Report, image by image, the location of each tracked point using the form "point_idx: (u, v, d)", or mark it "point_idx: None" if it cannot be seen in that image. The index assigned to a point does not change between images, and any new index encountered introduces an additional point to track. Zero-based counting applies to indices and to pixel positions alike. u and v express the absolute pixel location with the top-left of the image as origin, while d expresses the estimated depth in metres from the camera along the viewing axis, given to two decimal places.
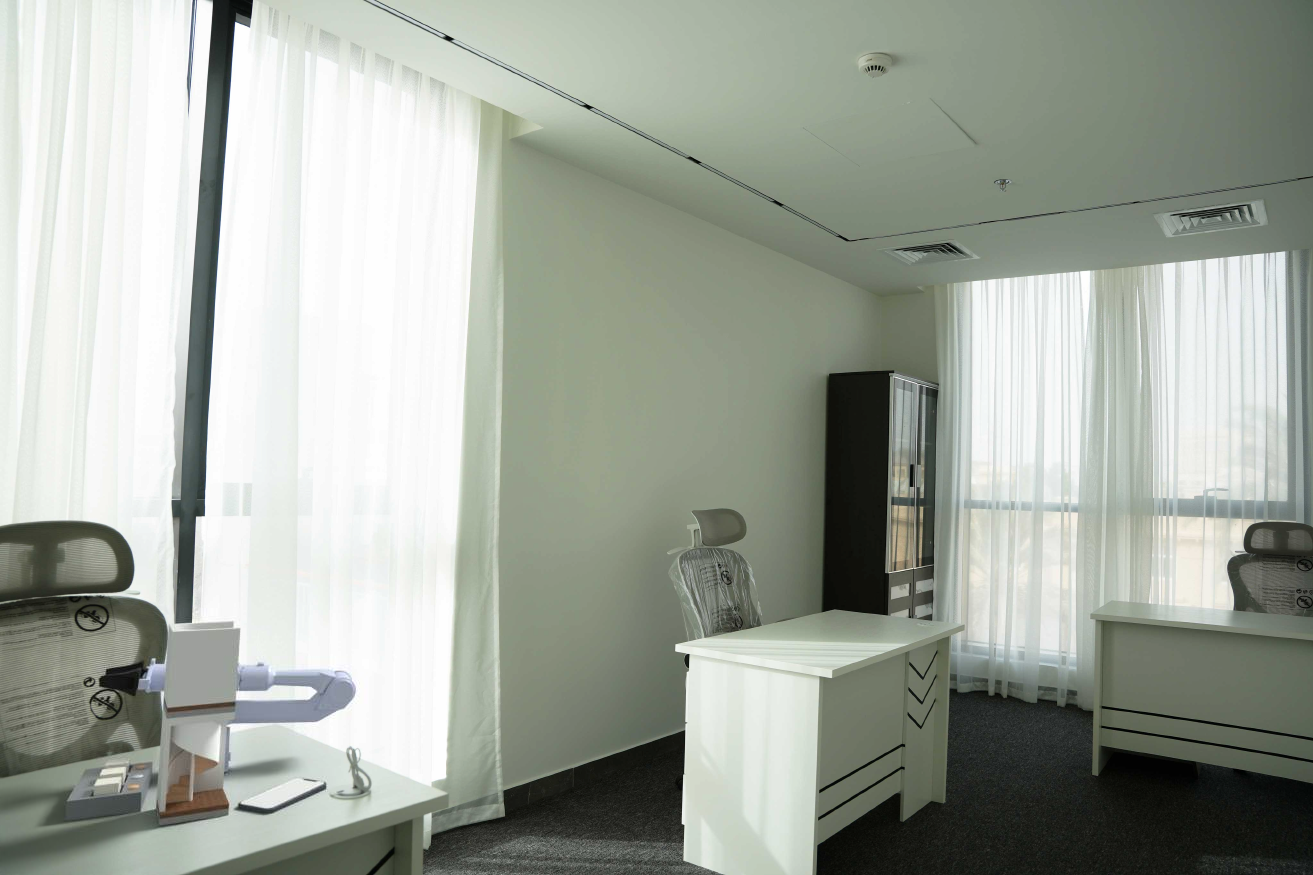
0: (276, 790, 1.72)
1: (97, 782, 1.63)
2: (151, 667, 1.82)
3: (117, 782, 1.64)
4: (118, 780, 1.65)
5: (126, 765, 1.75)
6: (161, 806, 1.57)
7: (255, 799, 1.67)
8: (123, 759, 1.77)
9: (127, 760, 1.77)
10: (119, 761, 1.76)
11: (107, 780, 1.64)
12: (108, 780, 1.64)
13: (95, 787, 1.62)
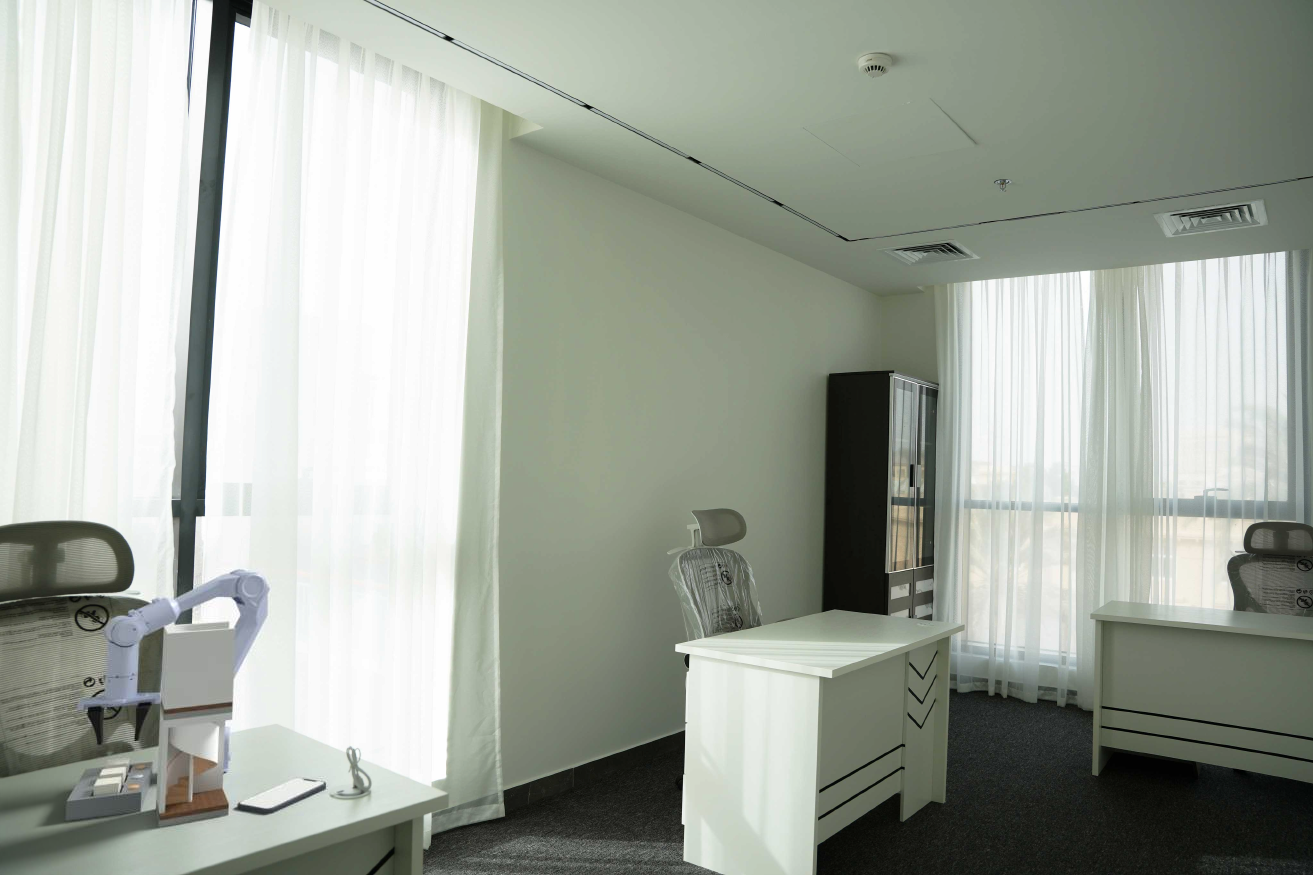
0: (276, 790, 1.72)
1: (97, 782, 1.63)
2: (130, 699, 1.75)
3: (117, 782, 1.64)
4: (118, 780, 1.65)
5: (126, 765, 1.75)
6: (160, 808, 1.57)
7: (255, 799, 1.67)
8: (123, 759, 1.77)
9: (127, 760, 1.77)
10: (119, 761, 1.76)
11: (107, 780, 1.64)
12: (108, 780, 1.64)
13: (95, 787, 1.62)
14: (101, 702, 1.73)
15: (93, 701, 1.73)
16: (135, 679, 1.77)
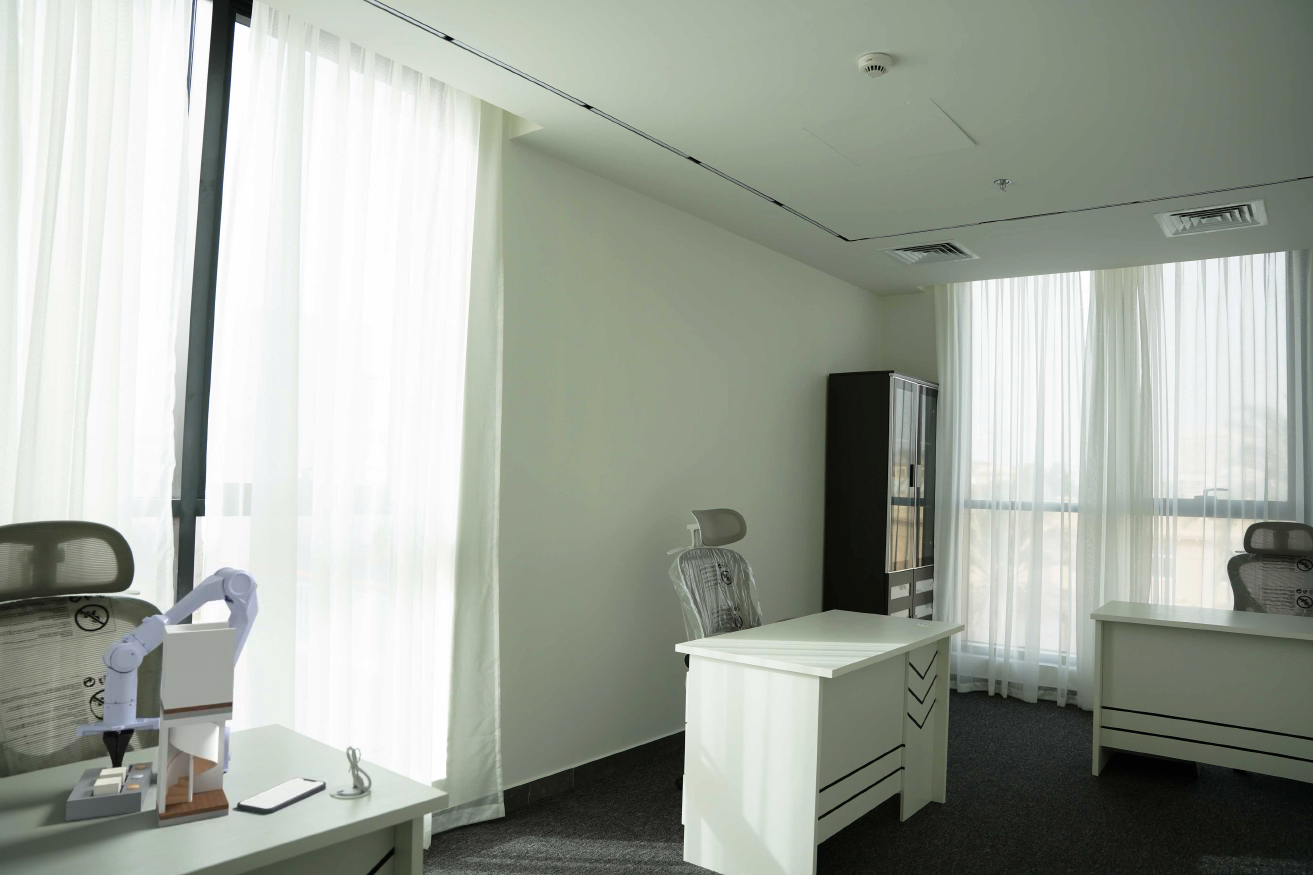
0: (276, 790, 1.72)
1: (97, 782, 1.63)
2: (128, 725, 1.75)
3: (117, 782, 1.64)
4: (118, 780, 1.65)
5: (126, 771, 1.75)
6: (160, 808, 1.57)
7: (254, 799, 1.67)
8: (123, 765, 1.77)
9: (127, 766, 1.76)
10: None
11: (107, 780, 1.64)
12: (108, 780, 1.64)
13: (95, 787, 1.62)
14: (100, 728, 1.73)
15: (92, 727, 1.73)
16: (134, 705, 1.77)
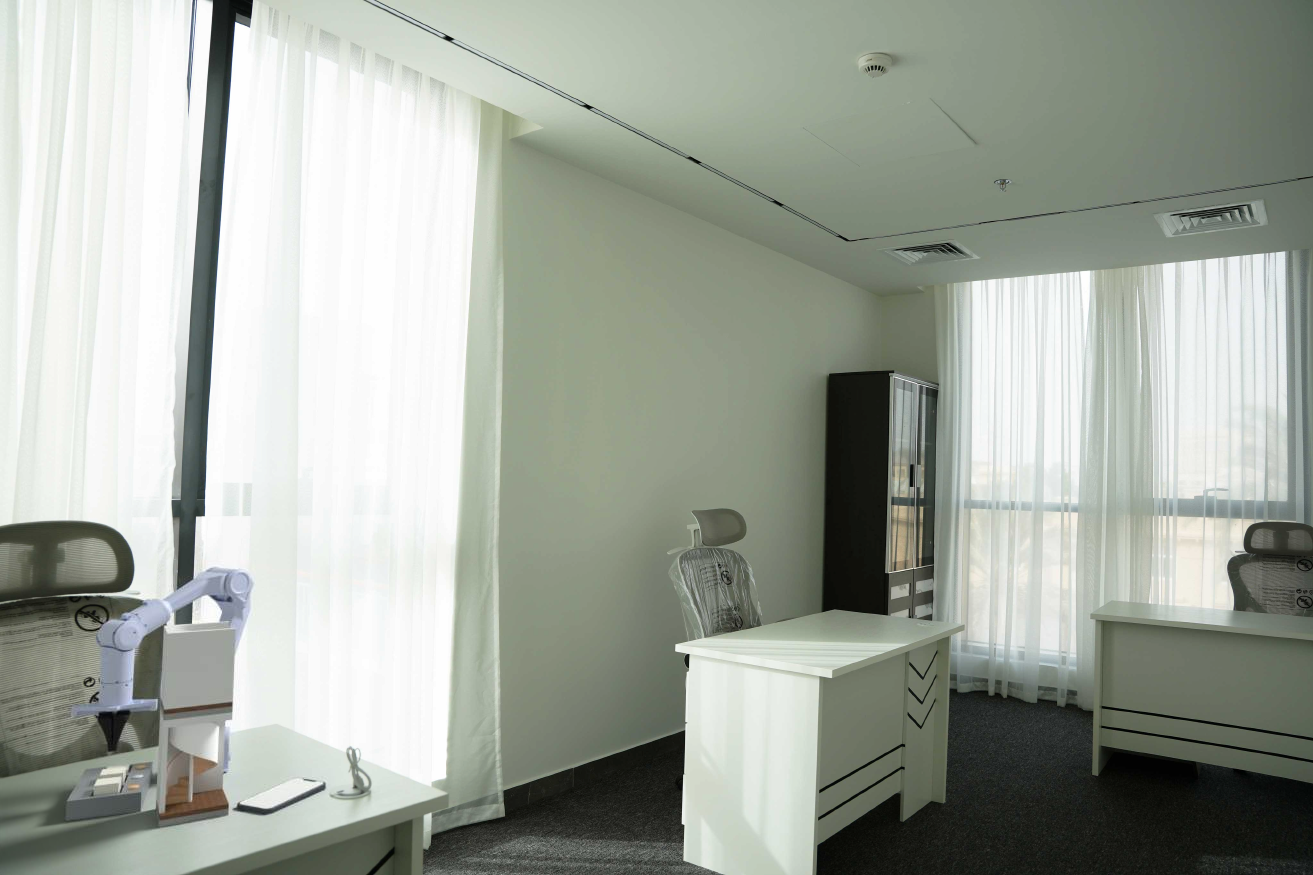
0: (276, 790, 1.72)
1: (97, 782, 1.63)
2: (124, 706, 1.69)
3: (117, 782, 1.64)
4: (118, 780, 1.65)
5: (126, 772, 1.75)
6: (160, 808, 1.57)
7: (254, 799, 1.67)
8: (123, 766, 1.77)
9: (127, 767, 1.76)
10: None
11: (107, 780, 1.64)
12: (108, 780, 1.64)
13: (95, 787, 1.62)
14: (95, 709, 1.68)
15: (87, 708, 1.67)
16: (130, 685, 1.71)
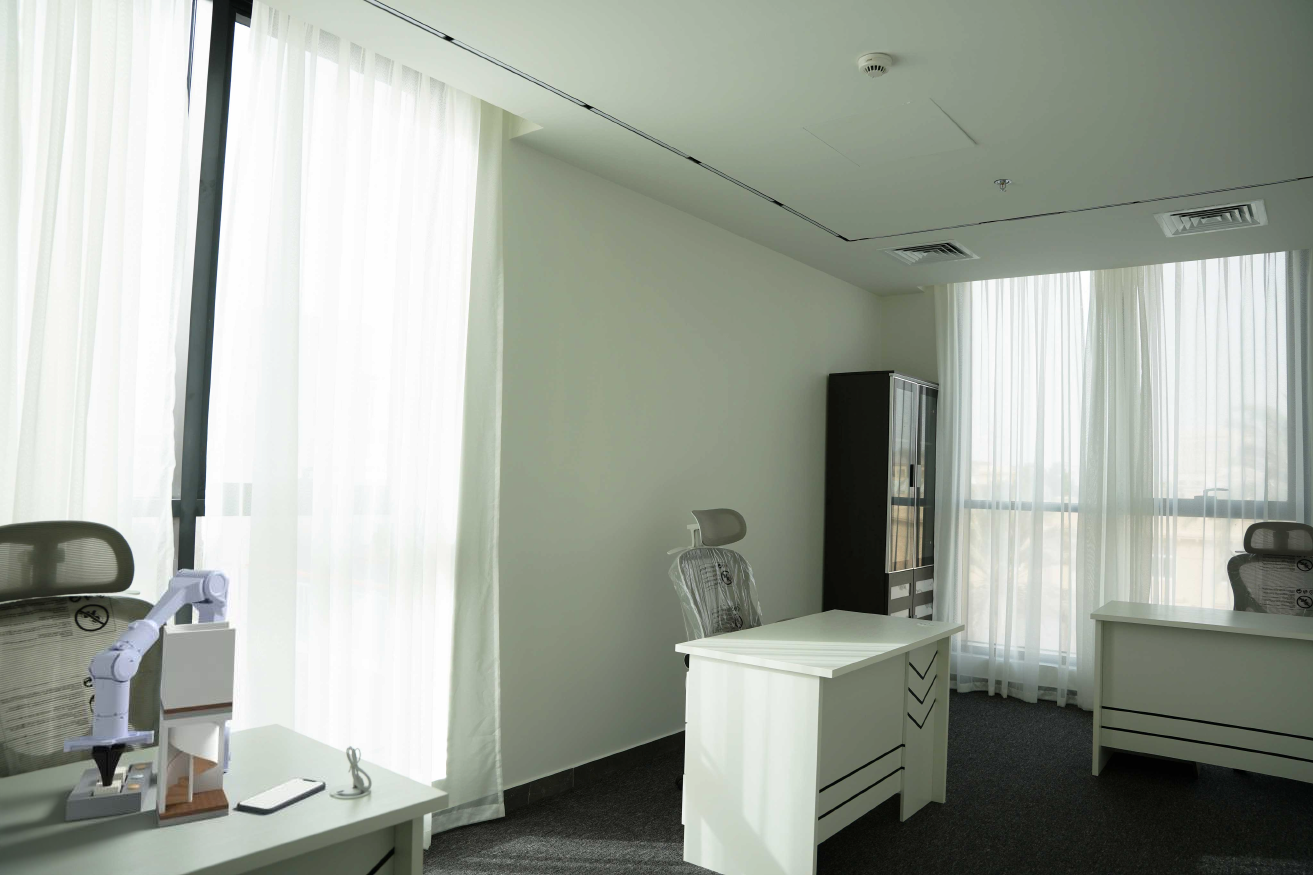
0: (276, 791, 1.72)
1: (97, 786, 1.63)
2: (120, 740, 1.63)
3: (117, 786, 1.63)
4: (118, 784, 1.65)
5: (126, 772, 1.75)
6: (160, 808, 1.57)
7: (254, 799, 1.67)
8: (123, 766, 1.77)
9: (127, 767, 1.76)
10: None
11: None
12: None
13: (95, 791, 1.62)
14: (89, 743, 1.61)
15: (80, 742, 1.61)
16: (125, 718, 1.65)
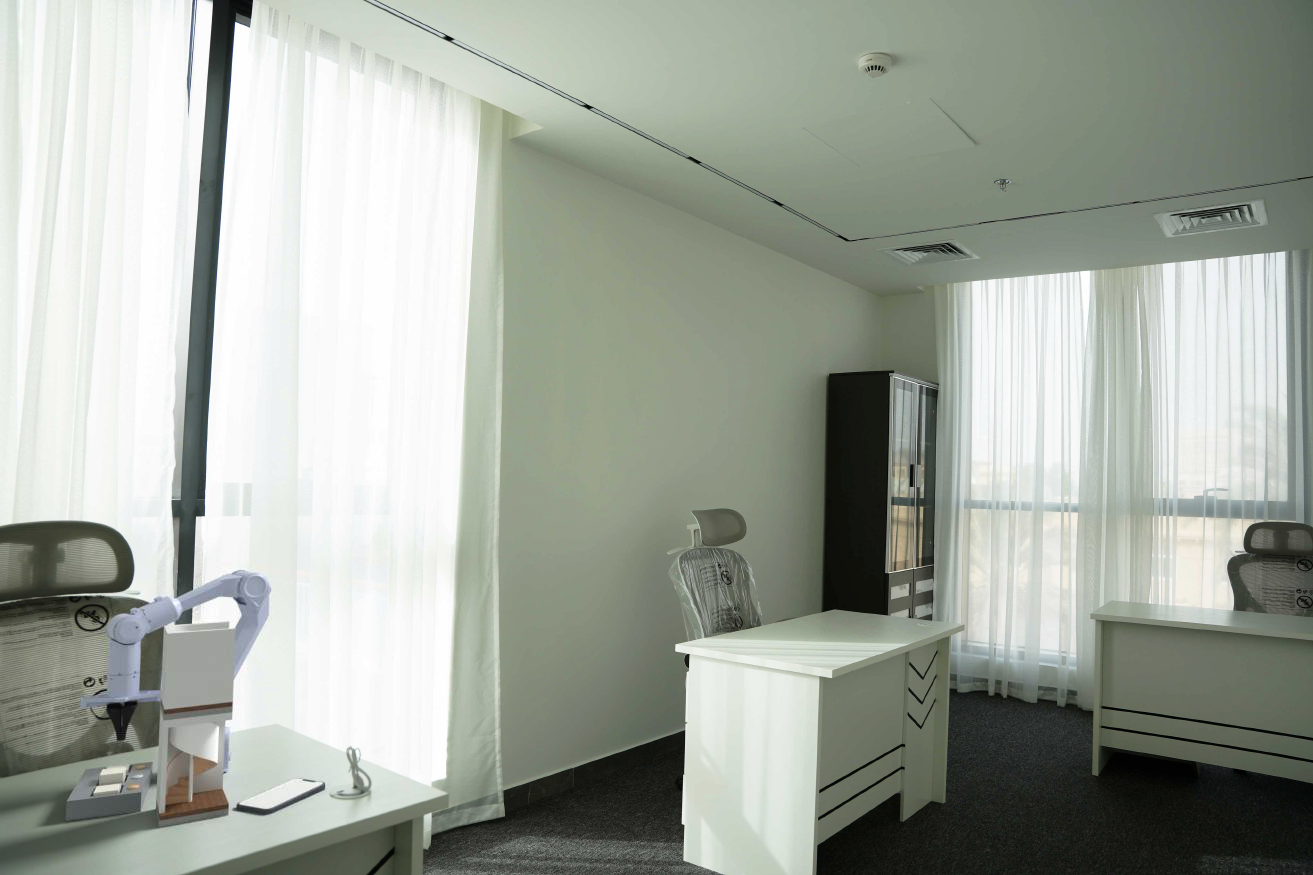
0: (275, 791, 1.72)
1: (97, 789, 1.63)
2: (132, 697, 1.75)
3: (117, 789, 1.63)
4: (118, 787, 1.65)
5: (126, 772, 1.75)
6: (160, 808, 1.57)
7: (254, 800, 1.67)
8: (123, 766, 1.77)
9: (127, 767, 1.76)
10: None
11: (106, 787, 1.64)
12: (108, 787, 1.64)
13: (95, 794, 1.62)
14: (104, 700, 1.74)
15: (96, 699, 1.73)
16: (137, 677, 1.77)
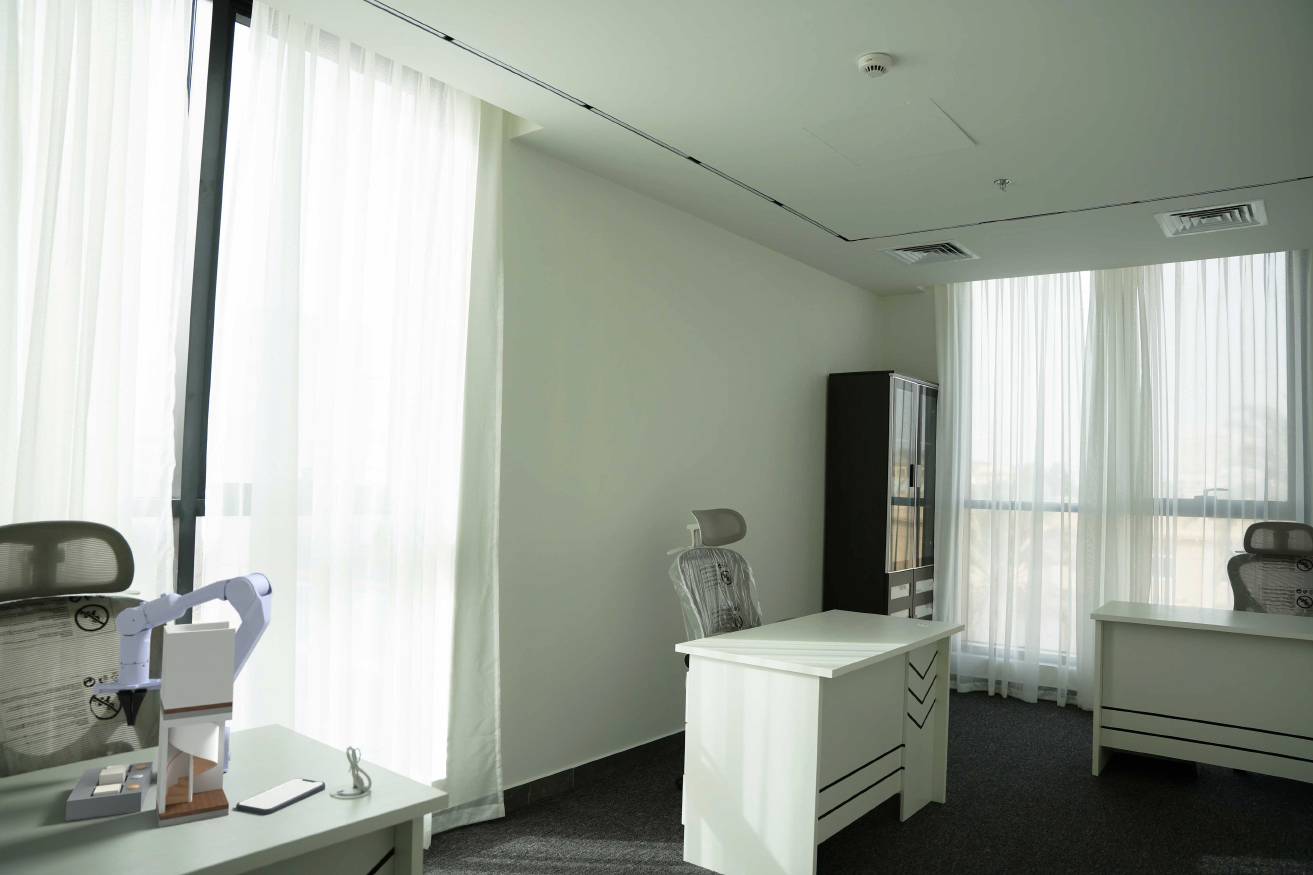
0: (275, 791, 1.72)
1: (97, 789, 1.63)
2: (142, 685, 1.86)
3: (117, 789, 1.63)
4: (118, 787, 1.65)
5: (126, 772, 1.75)
6: (160, 808, 1.57)
7: (254, 800, 1.67)
8: (123, 766, 1.77)
9: (127, 767, 1.76)
10: None
11: (106, 787, 1.64)
12: (108, 787, 1.64)
13: (95, 794, 1.62)
14: (115, 687, 1.84)
15: (108, 686, 1.84)
16: (147, 666, 1.88)
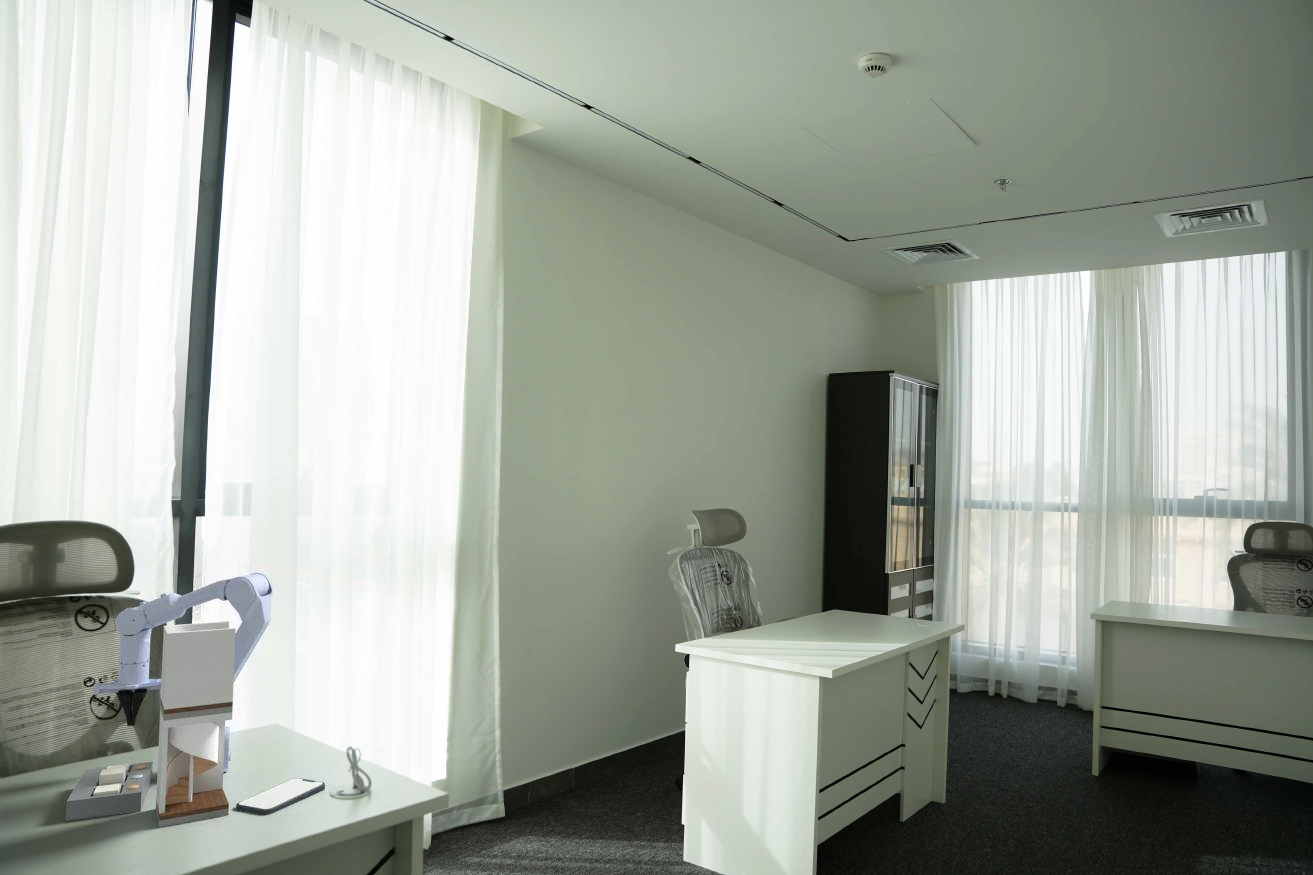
0: (275, 791, 1.72)
1: (97, 789, 1.63)
2: (142, 685, 1.86)
3: (117, 789, 1.63)
4: (118, 787, 1.65)
5: (126, 772, 1.75)
6: (160, 808, 1.57)
7: (253, 800, 1.67)
8: (123, 766, 1.77)
9: (127, 767, 1.76)
10: None
11: (106, 787, 1.64)
12: (108, 787, 1.64)
13: (95, 794, 1.62)
14: (115, 687, 1.84)
15: (108, 686, 1.84)
16: (147, 666, 1.88)
